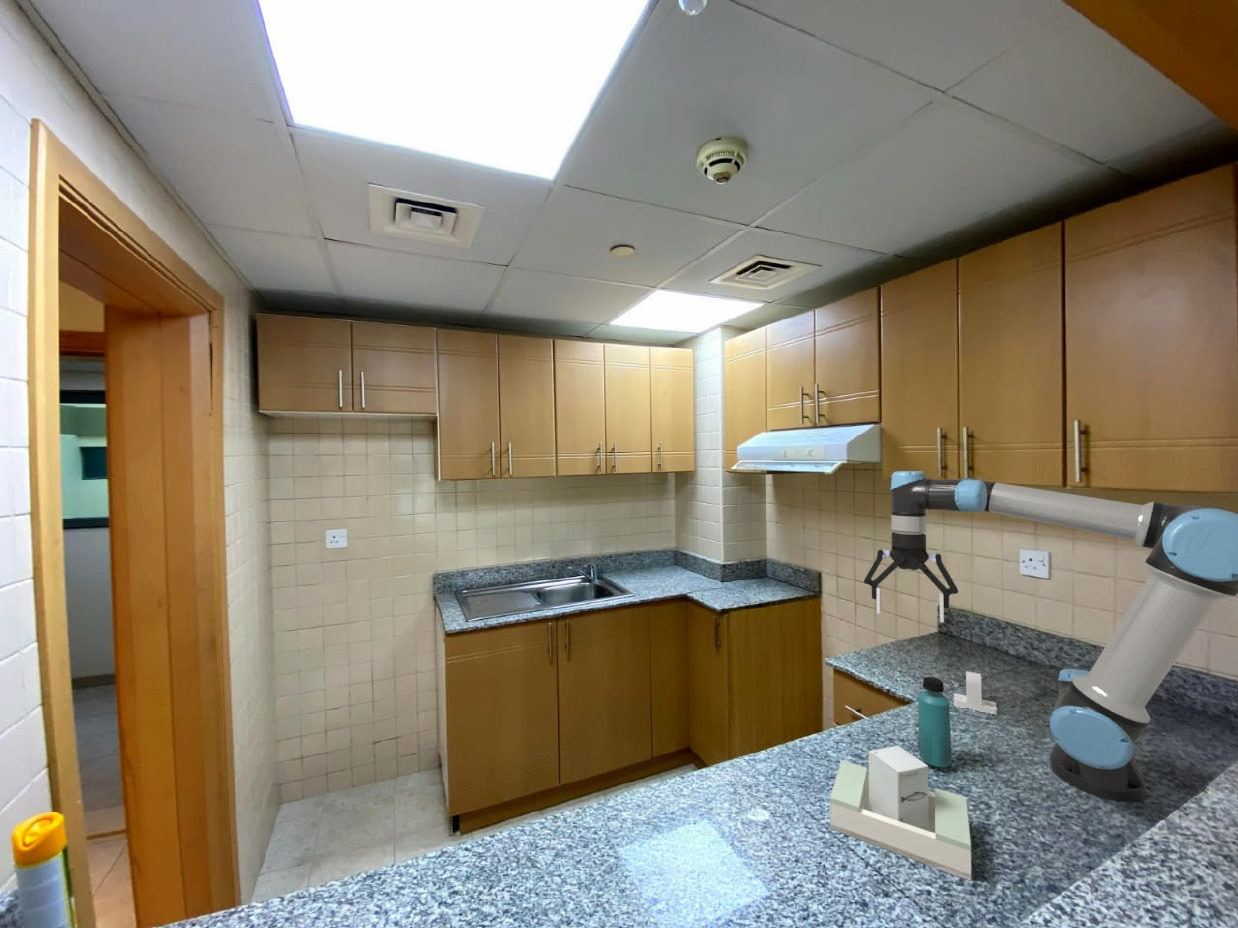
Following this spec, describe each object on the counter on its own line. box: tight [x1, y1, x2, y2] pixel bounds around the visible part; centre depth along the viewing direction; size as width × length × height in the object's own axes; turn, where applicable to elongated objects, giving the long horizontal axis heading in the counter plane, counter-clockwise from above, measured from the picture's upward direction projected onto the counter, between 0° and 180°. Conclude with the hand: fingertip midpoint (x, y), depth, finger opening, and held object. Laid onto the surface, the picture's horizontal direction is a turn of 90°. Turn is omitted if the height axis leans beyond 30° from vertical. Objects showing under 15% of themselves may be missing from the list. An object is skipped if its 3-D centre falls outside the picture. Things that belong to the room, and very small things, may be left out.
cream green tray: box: [829, 760, 972, 882], centre depth 93 cm, size 22×14×6 cm, turn 57°
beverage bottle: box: [917, 676, 953, 768], centre depth 113 cm, size 6×7×20 cm
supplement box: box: [868, 745, 929, 831], centre depth 93 cm, size 7×7×13 cm
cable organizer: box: [953, 670, 998, 716], centre depth 139 cm, size 5×10×10 cm, turn 56°
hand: (909, 616), depth 122 cm, fingers open, 13 cm apart
